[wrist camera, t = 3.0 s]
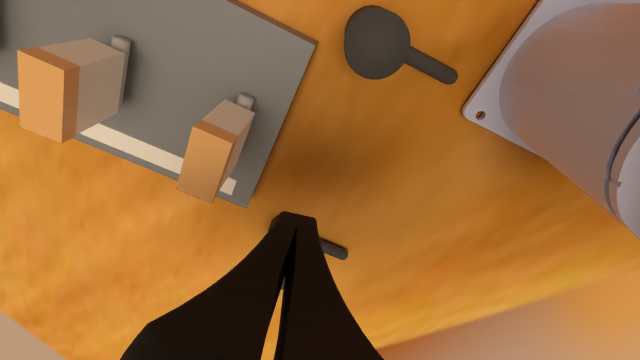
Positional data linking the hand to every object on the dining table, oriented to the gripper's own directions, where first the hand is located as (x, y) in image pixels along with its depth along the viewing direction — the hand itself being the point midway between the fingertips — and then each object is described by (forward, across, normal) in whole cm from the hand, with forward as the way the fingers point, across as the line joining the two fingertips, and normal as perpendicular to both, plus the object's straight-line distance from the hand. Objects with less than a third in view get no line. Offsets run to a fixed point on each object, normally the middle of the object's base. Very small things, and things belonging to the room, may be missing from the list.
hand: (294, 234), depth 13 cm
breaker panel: (+9, +11, -2) cm, 14 cm away
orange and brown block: (+7, +11, -2) cm, 13 cm away
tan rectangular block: (+6, +4, -1) cm, 8 cm away
